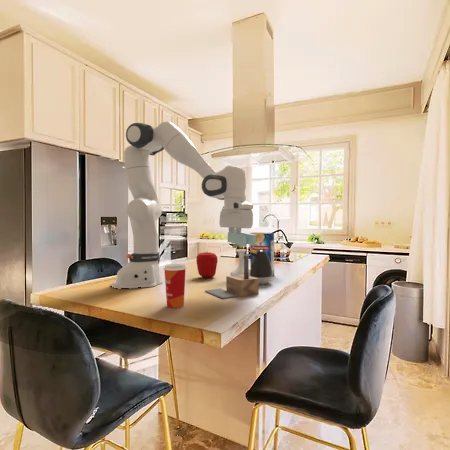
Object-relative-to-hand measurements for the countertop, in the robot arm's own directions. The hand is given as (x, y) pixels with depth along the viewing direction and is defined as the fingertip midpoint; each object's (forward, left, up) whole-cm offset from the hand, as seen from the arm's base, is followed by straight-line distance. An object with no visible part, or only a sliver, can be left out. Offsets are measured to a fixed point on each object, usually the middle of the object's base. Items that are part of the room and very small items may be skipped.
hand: (234, 238), depth 129 cm
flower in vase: (+17, +22, -21) cm, 35 cm away
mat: (-8, -3, -21) cm, 23 cm away
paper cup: (-30, -9, -21) cm, 38 cm away
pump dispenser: (+17, +5, -21) cm, 28 cm away
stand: (0, -5, -21) cm, 22 cm away
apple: (+3, +31, -21) cm, 38 cm away
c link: (0, -5, -2) cm, 5 cm away
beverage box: (+30, +21, -21) cm, 42 cm away
